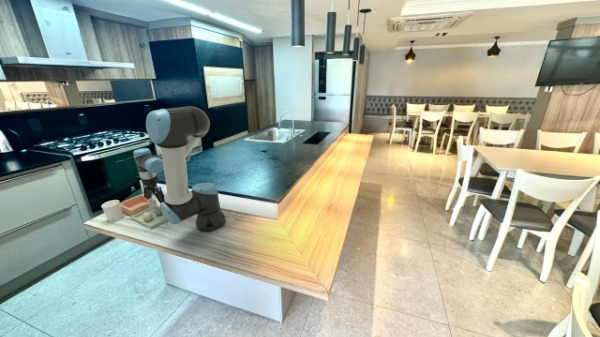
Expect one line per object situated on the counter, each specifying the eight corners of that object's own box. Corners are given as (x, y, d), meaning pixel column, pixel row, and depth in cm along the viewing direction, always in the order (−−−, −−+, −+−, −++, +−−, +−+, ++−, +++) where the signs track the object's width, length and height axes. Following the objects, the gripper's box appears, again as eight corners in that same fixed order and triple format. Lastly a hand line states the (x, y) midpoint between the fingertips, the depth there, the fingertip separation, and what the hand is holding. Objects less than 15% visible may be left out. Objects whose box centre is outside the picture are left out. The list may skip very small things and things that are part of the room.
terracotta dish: (157, 206, 142) (155, 199, 140) (133, 218, 131) (130, 210, 129) (144, 201, 149) (142, 194, 147) (120, 211, 138) (117, 204, 136)
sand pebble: (155, 219, 129) (153, 211, 127) (146, 223, 125) (144, 216, 123) (150, 216, 131) (148, 209, 130) (141, 221, 127) (139, 213, 126)
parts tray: (177, 216, 132) (176, 213, 132) (151, 230, 121) (150, 226, 120) (157, 207, 141) (156, 204, 141) (131, 219, 130) (130, 216, 129)
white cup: (110, 224, 126) (103, 208, 122) (105, 219, 130) (99, 204, 126) (126, 217, 132) (121, 202, 128) (121, 213, 136) (116, 198, 132)
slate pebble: (166, 213, 134) (164, 206, 132) (158, 217, 130) (155, 210, 128) (161, 211, 137) (159, 204, 135) (153, 215, 133) (150, 208, 131)
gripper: (169, 178, 122) (177, 213, 130) (143, 170, 133) (153, 202, 141) (154, 184, 116) (165, 220, 124) (129, 175, 127) (140, 208, 135)
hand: (158, 210), depth 133 cm, fingers open, 12 cm apart
